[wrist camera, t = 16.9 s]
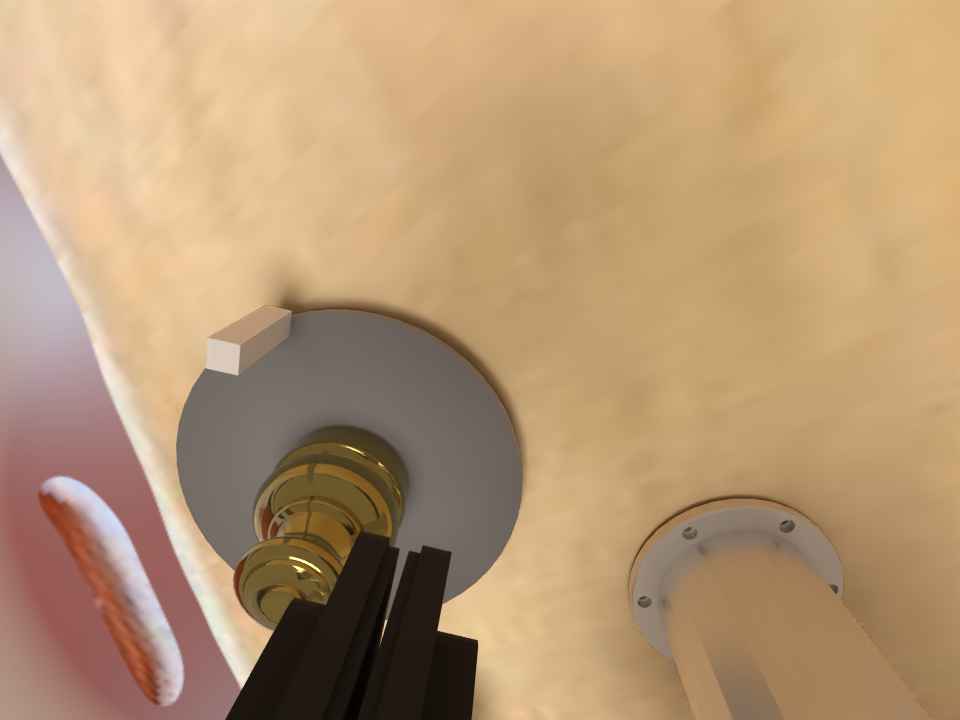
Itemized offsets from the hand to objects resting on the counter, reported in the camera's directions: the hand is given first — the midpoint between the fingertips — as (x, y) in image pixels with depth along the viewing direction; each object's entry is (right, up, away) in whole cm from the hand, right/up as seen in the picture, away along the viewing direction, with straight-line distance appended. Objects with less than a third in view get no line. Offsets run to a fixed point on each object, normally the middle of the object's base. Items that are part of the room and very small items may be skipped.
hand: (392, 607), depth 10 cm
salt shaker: (-6, -2, +23) cm, 24 cm away
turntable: (-6, -2, +24) cm, 25 cm away
